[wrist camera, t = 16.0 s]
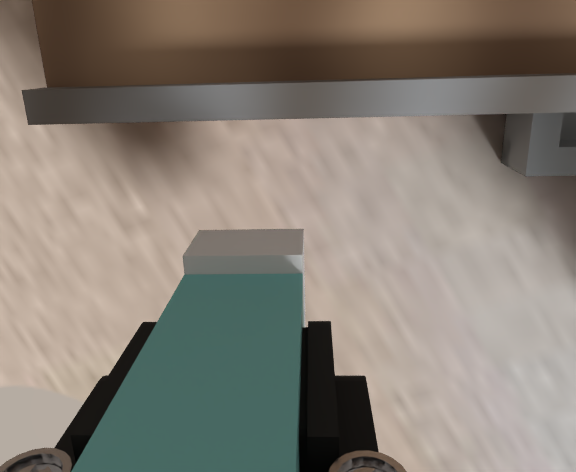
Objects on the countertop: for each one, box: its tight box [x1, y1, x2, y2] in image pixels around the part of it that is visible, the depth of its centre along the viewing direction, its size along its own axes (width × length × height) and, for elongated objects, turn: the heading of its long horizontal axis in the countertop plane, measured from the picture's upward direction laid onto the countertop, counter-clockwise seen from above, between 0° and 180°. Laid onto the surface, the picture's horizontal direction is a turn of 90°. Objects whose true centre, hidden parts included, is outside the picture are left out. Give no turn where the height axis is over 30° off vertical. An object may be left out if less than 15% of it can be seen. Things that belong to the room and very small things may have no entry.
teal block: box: [71, 229, 305, 472], centre depth 11 cm, size 3×5×10 cm, turn 2°
